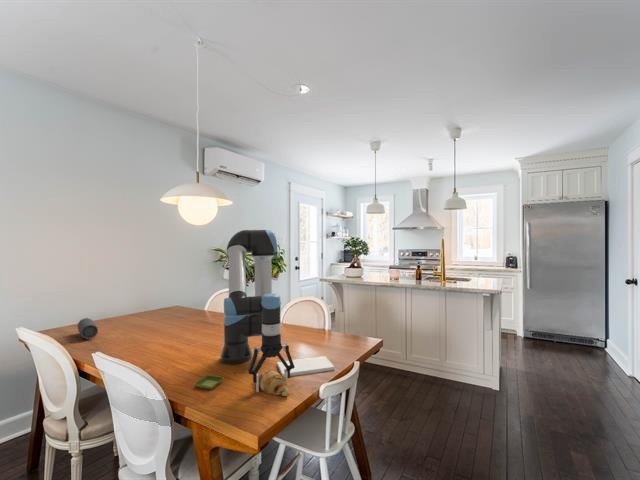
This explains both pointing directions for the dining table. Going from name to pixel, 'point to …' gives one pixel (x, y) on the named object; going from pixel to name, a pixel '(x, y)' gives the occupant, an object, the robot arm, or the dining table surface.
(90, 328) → the bluetooth speaker
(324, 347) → the dining table surface
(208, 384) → the saucer
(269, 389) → the croissant
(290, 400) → the dining table surface
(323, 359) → the platter
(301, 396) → the dining table surface
